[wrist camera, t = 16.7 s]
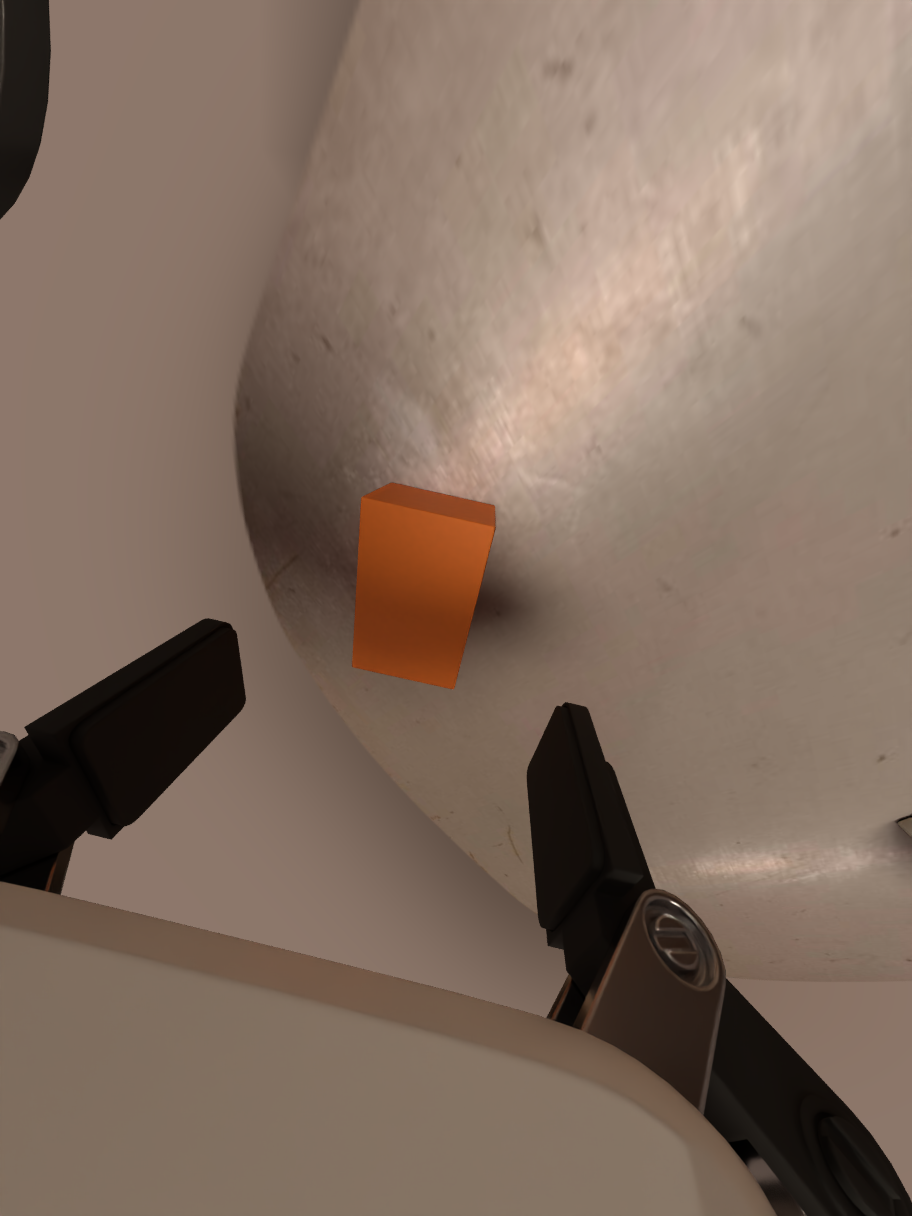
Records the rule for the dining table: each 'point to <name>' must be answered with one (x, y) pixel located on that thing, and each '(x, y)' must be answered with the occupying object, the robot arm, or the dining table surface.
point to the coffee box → (906, 825)
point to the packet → (418, 581)
